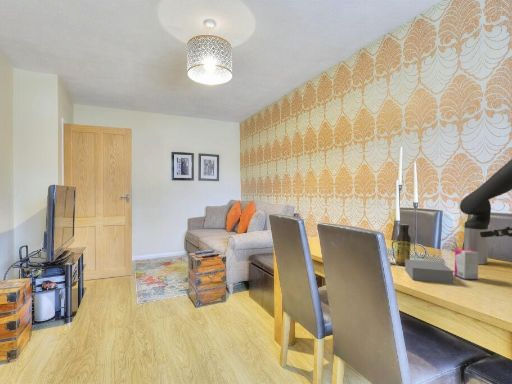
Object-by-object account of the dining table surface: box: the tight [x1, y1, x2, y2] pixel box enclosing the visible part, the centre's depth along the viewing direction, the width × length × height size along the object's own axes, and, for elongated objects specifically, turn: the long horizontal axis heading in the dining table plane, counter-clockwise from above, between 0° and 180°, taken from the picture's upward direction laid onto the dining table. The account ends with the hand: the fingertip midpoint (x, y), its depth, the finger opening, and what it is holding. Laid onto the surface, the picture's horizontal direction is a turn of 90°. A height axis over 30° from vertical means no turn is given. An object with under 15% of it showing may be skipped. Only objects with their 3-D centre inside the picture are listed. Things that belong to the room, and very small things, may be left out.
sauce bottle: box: [394, 223, 412, 267], centre depth 133 cm, size 7×6×20 cm
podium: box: [404, 259, 454, 285], centre depth 115 cm, size 14×14×5 cm
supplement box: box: [454, 248, 479, 281], centre depth 114 cm, size 6×6×12 cm
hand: (480, 234), depth 114 cm, fingers open, 8 cm apart
